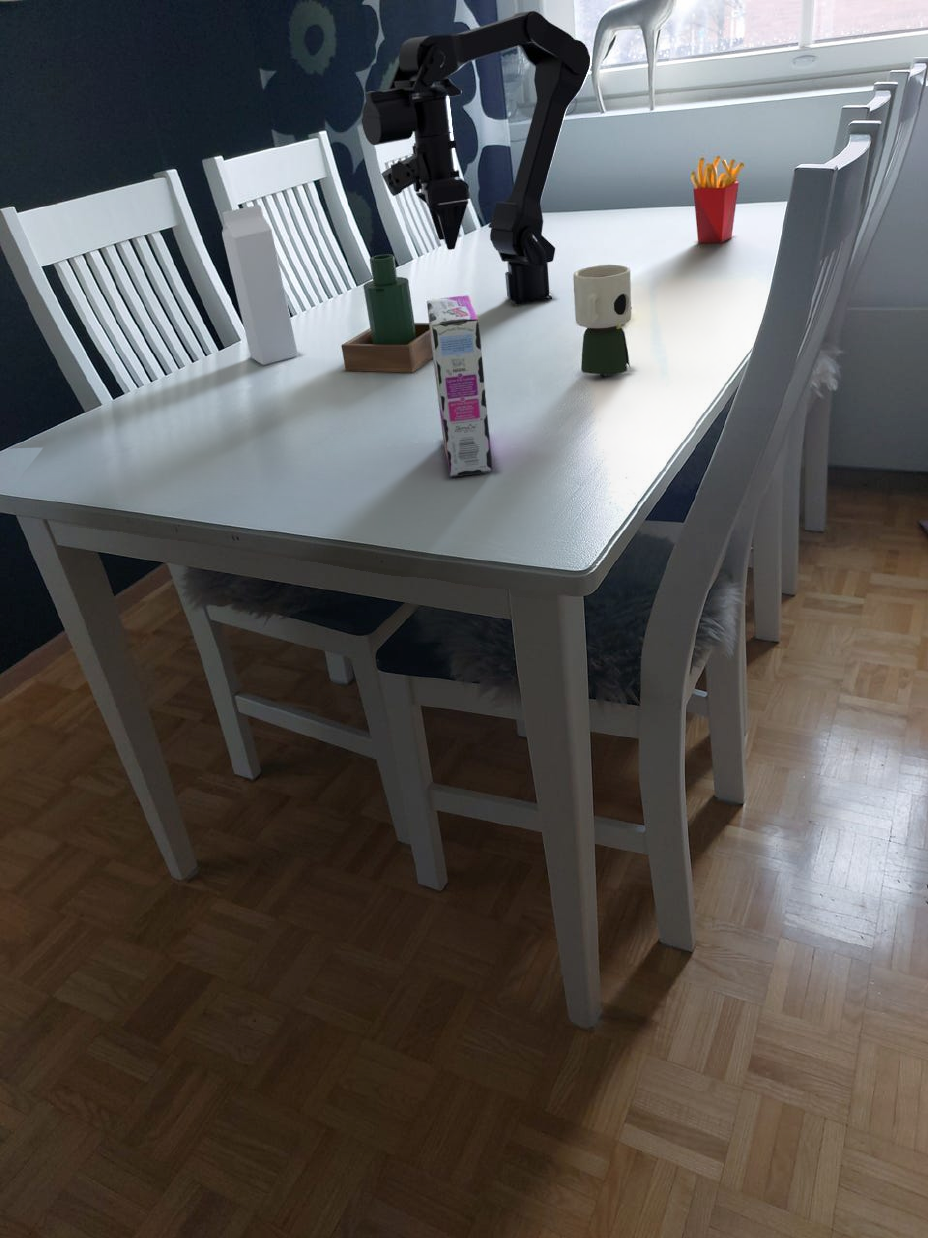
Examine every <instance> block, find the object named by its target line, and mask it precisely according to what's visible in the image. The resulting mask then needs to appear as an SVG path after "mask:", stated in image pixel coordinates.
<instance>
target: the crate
mask: <svg viewBox="0 0 928 1238" xmlns="http://www.w3.org/2000/svg"><path fill="white" fill-rule="evenodd" d="M414 324H415V331H416V339H415V340H413V341H412V342H410V343H409V344H407V345H383V344H373V341H372V335H371V329H370V327H368V329H366V330H364V331H363V332H361V333H359V334H357V335H356V336H354V337H353V338H351V339H349V340H347V341H346V342H344V343H343V344H341V345H340V347H341V351H342V357H343V362H344V369H345V371H349V372H379V373H380V372H381V373H409V374H410V373H414V372H416V371H417V370H418V369H420V368H421V367H422V366H424V365H425V364H426V363H428V362H429V361H431V360H432V359H433V352H432V344H431V335H430V327H429V322H414Z"/></svg>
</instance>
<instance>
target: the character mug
mask: <svg viewBox="0 0 928 1238" xmlns="http://www.w3.org/2000/svg"><path fill="white" fill-rule="evenodd" d="M631 278H632V277H631V268H630V266H627V265H622V264H599V265H593V266H587V267H584V268H580V269H578V270H576V271H574V272H573V278H572V279H573V297H574V316H575V323H576V324H577V325H578V326H579V327H583V328H586V329H585V331H584V333H583V337H582V348H581V365H580V367H581V368H580V369H581V372H582V373H586V374H590V375H592V374H593V375H599V376H600V377H602V378H603V377H605V376H608V377H610V376H615V375H621V374H623V373H625V372H627V371H628V368H631V366H630V365H631V364H630V357H629V350H628V345H627V344H628V343H627V339H626V334H625V330H624V329H623V327H622V326H623V324H626V323H628V322H630V321H631V319H632V311H633V310H632V309H631V307H632V279H631Z"/></svg>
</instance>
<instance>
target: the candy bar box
mask: <svg viewBox="0 0 928 1238" xmlns="http://www.w3.org/2000/svg"><path fill="white" fill-rule="evenodd" d="M426 307H427V318H428V323H429V327H430V335H431V344H432V352H433V358H432V359H433V360H432V361H433V367H434V377H435V382H436V383H435V384H436V393H437V394H436V395H437V401H438V402H437V403H438V409H439V416H440V424H441V431H442V432H441V433H442V440H443V446H444V450H445V455H446V456H445V457H446V461H447V467H448V475H449V477H452V478H454V477H463V476H470V475H477V474H480V475H481V474H487V473H491V472H493V470H494V469H493V462H492V450H491V449H492V448H491V440H490V428H489V417H488V404H487V393H486V384H485V374H484V373H485V372H484V363H483V361H484V360H483V352H482V351H483V349H482V342H481V341H482V340H481V331H480V329H481V328H480V320H479V317H478V315H477V313H476V310H475V308H474V305H473V303H472V299H471V297H470V295H458V296H449V297H442V298H436V299H429V300H426Z"/></svg>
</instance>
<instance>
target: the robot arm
mask: <svg viewBox="0 0 928 1238" xmlns="http://www.w3.org/2000/svg"><path fill="white" fill-rule="evenodd" d="M515 47H519V48H520V50H521V52H522V54H523V55H524V57H525V59H526V60H527V62H528V63H530V64H531V65H532V66H533V67H534V68H535V70H534V78H533V83H534V88H535V89H534V90H535V95H536V102H535V107H534V110H533V113H532V118H531V121H530V125H529V129H528V132H527V136H526V140H525V144H524V147H523V151H522V155H521V158H520V162H519V166H518V169H517V173H516V177H515V181H514V184H513V188H512V191H511V194H510V196H508V198H507V199H506V201H504V202H503V201H496V202H495V205H494V207H493V215H492V218H491V221H490V223H489V224H488V228H489V229H490V233H489V239H490V241H491V244H492V246H493V248H494V249H495V251H497V252H498V255H499V257H500V260H501V262H504V263H505V262H506V263H507V271H506V272H504V276H505V277H504V278H505V287H506V296H507V298H508V300H510V301H511V302H512V303H513V304H514V305H515V306H520V305H527V304H533V303H540V302H545V301H551V300H553V295H552V294H551V293H550V279H549V266H548V265H549V263H552V262H553V261H554V259H555V258H554V257H555V253H556V247H555V246H554V245H553V244H552V243H551V242H550V241H549V240H548V239H547V238H546V237H545V236H544V235H543V230H544V229H543V228H544V215H543V211H542V198H543V194H544V190H545V188H546V184H547V180H548V177H549V173H550V170H551V166H552V162H553V159H554V155H555V152H556V149H557V144H558V141H559V137H560V133H561V131H562V127H563V124H564V119H565V116H566V112H567V110H568V107H569V106H570V105H571V103H573V101H574V100H575V98H576V97H577V96H578V94H579V93H580V92H581V91H582V89H583V86H584V84H585V82H586V79H587V77H588V75H589V72H590V69H591V65H592V64H591V63H592V56H591V55H590V53H589V49H588V47H587V46H586V44H585V43H584V42H583V41H582V40H579V39H575V38H574V37H573V36H572V35H571V34H570V33H568V32H567V31H565V30H563V29H562V28H560V27H558V26H556V25H555V24H554V23H551V22H549V20H547V18H545V16H544V15H542V14H541V13H539V12H538V11H535V10H531V11H523V12H517V13H515V14H514V15H512V16H510V17H507V18H503V19H501V20H497V21H495V22H491V23H488V24H485V25H481V26H478V27H475V28H472V29H468V30H465V31H461V32H459V33H447V34H434V35H433V34H431V35H425V36H417V37H411V38H408V39H407V40H405V41H404V42H403V43H402V44H401V48H400V50H399V54H398V64H397V67H396V69H395V72H394V74H393V77H392V78H391V81H390V85H389V86H388V89H387V90H375V91H374V90H373V91H372V90H371V91H366V92H365V93H364V97H365V103H364V104H363V108H362V117H361V125H362V130H363V133H364V135H365V139H366V140H367V142H368V143H369V144H370V145H372V146H379V145H385V144H390V143H395V142H399V141H405V140H409V139H410V138H412V136H413V134H414V143H413V145H412V155H410V156H408V157H407V158H405V159H403V160H397V162H395V163H393V164H390V167H389V168H387V169H386V170H384V171H383V172H381V173H380V175H381V176H382V179H383V181H384V182H385V185H386V186H387V189H388V190H389V193H390V194H391V195H392V196H393V197H395V196H398V195H399V194H402V192H403V190H405V189H407V188H408V187H410V186H412V185H413V191H414V192H415V195H416V196H417V197H418V198H419V200H421V201H423V203H425V204H426V206H427V208H428V211H429V214H430V217H431V219H432V222H433V227H434V230H435V232H436V236H437V239H438V240H440V241H442V240H444V242H445V245H446V248H447V250H448V251H450V250H455V249H456V245H457V241H458V238H459V234H460V230H461V228H462V223H463V220H464V216H465V214H466V209H467V206H468V204H469V200H470V199H471V194H470V184H469V183H467V182H466V181H465V180H464V179H463V178H461V176H460V170H458V169H457V161H456V152H455V151H456V150H455V149H457V140H456V139H454V132H453V125H452V124H453V123H452V114H451V106H450V105H451V104H450V98H452V97H459V96H461V95H462V89H460V88H459V87H458V86H457V85H455V84H454V83H453V82H452V81H451V79H450V78H448V77H450V76H452V75H454V74H455V73H457V72H458V71H459V70H460V69H461V68H463V67H464V66H465V65H467V64H468V63H470V62H473V61H475V60H478V59H479V60H480V59H482V58H485V57H488V56H491V55H494V54H497V53H500V52H503V51H506V50H509V49H513V48H515ZM437 82H438V84H437V85H434V84H435V83H437ZM433 85H434V86H433ZM414 94H417V96H415V97H413V95H414Z"/></svg>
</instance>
